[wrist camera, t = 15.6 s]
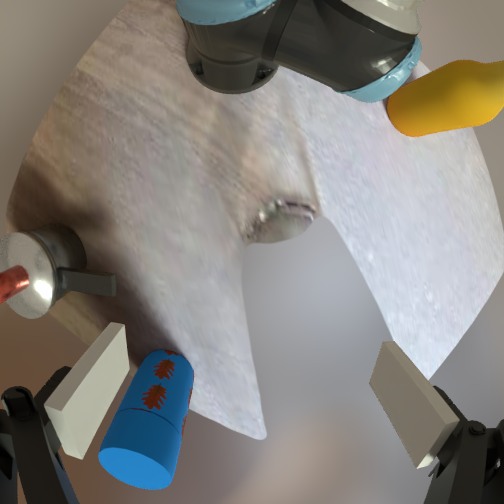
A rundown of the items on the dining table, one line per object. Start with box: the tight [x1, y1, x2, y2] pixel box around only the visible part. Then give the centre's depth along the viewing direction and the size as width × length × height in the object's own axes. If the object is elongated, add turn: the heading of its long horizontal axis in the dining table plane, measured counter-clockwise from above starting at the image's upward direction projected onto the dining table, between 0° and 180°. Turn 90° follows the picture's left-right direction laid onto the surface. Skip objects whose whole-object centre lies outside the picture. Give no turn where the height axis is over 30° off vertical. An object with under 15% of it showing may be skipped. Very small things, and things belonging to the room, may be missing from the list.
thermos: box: [99, 350, 194, 490], centre depth 41 cm, size 11×11×25 cm
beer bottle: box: [387, 60, 504, 137], centre depth 29 cm, size 9×9×29 cm
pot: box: [24, 224, 117, 307], centre depth 42 cm, size 14×23×11 cm, turn 84°
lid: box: [0, 231, 57, 319], centre depth 32 cm, size 14×14×10 cm
